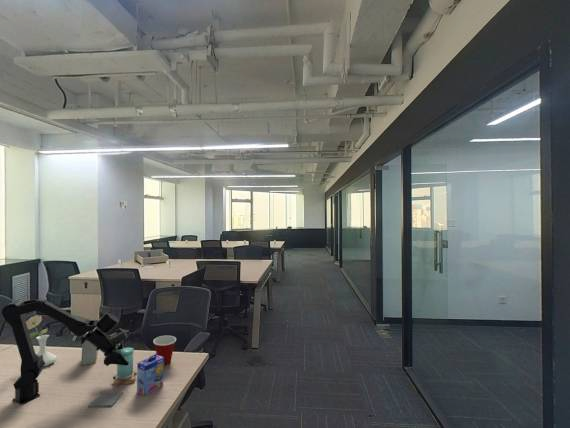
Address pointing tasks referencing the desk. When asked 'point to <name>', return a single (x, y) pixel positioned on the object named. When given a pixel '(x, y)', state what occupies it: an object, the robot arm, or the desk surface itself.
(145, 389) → the ink cartridge box
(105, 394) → the mat
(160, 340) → the plastic cup
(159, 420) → the desk surface
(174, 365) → the desk surface
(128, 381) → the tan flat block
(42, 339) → the flower in vase
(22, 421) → the desk surface
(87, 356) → the skincare box
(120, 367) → the teal rounded cylinder
